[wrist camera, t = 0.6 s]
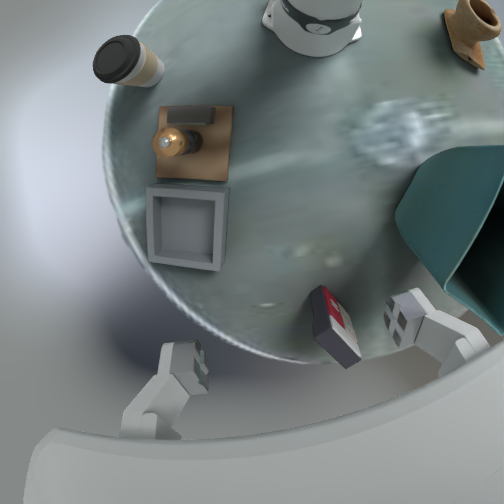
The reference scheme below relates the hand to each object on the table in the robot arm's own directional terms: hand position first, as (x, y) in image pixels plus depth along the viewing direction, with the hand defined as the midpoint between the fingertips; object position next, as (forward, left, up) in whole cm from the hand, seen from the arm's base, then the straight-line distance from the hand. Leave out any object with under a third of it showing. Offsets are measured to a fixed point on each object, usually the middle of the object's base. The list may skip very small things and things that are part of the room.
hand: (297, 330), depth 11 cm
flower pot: (-1, +31, -42) cm, 52 cm away
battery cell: (-6, -17, -40) cm, 44 cm away
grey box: (+25, +14, -42) cm, 50 cm away
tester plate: (-6, -17, -42) cm, 46 cm away
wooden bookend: (-43, +37, -42) cm, 71 cm away
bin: (+10, -17, -42) cm, 46 cm away
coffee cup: (-21, -28, -42) cm, 55 cm away
